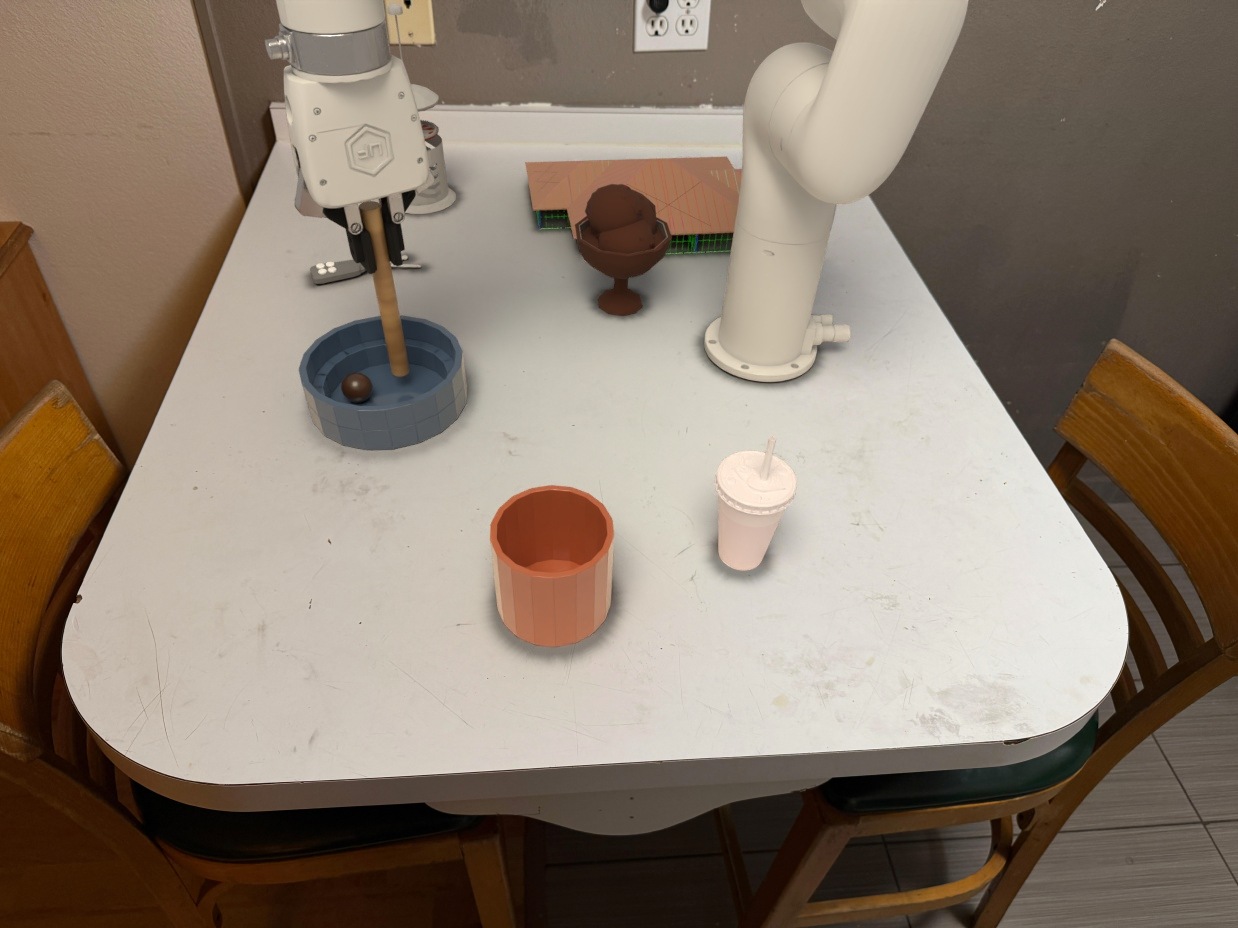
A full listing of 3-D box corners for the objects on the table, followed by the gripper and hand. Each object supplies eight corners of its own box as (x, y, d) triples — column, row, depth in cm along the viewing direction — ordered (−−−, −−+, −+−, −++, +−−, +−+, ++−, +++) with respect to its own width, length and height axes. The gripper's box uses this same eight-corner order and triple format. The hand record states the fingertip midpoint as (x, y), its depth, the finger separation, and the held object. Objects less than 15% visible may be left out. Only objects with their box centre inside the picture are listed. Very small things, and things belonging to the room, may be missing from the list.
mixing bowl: (470, 356, 89) (466, 314, 86) (463, 452, 78) (457, 408, 74) (326, 359, 88) (315, 316, 84) (298, 457, 77) (283, 412, 73)
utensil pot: (605, 557, 69) (608, 482, 63) (614, 648, 63) (618, 575, 57) (499, 561, 69) (492, 486, 62) (496, 654, 62) (488, 581, 56)
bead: (376, 389, 84) (371, 366, 82) (373, 408, 82) (367, 384, 79) (347, 390, 83) (341, 366, 81) (342, 409, 81) (336, 385, 79)
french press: (450, 215, 113) (427, 16, 95) (365, 212, 112) (327, 12, 95) (461, 184, 120) (441, -7, 102) (381, 181, 119) (348, -11, 102)
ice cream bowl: (658, 334, 94) (668, 212, 83) (564, 320, 95) (562, 199, 85) (672, 286, 101) (683, 169, 91) (585, 274, 103) (585, 157, 92)
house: (786, 252, 109) (797, 193, 103) (538, 263, 104) (536, 203, 99) (741, 177, 125) (749, 123, 119) (526, 184, 120) (523, 128, 115)
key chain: (315, 288, 98) (312, 278, 97) (310, 273, 100) (307, 263, 99) (422, 269, 102) (420, 258, 101) (414, 255, 105) (413, 244, 104)
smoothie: (757, 598, 67) (788, 477, 57) (689, 564, 69) (707, 443, 60) (788, 548, 71) (822, 427, 61) (723, 518, 73) (745, 397, 64)
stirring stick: (410, 366, 84) (381, 200, 71) (408, 376, 82) (378, 210, 70) (393, 366, 84) (360, 200, 71) (390, 377, 82) (356, 210, 70)
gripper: (247, 79, 56) (309, 307, 69) (456, 44, 63) (477, 258, 76) (217, 48, 60) (280, 268, 73) (415, 19, 67) (441, 225, 80)
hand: (380, 261), depth 74 cm, fingers closed on stirring stick, 1 cm apart
